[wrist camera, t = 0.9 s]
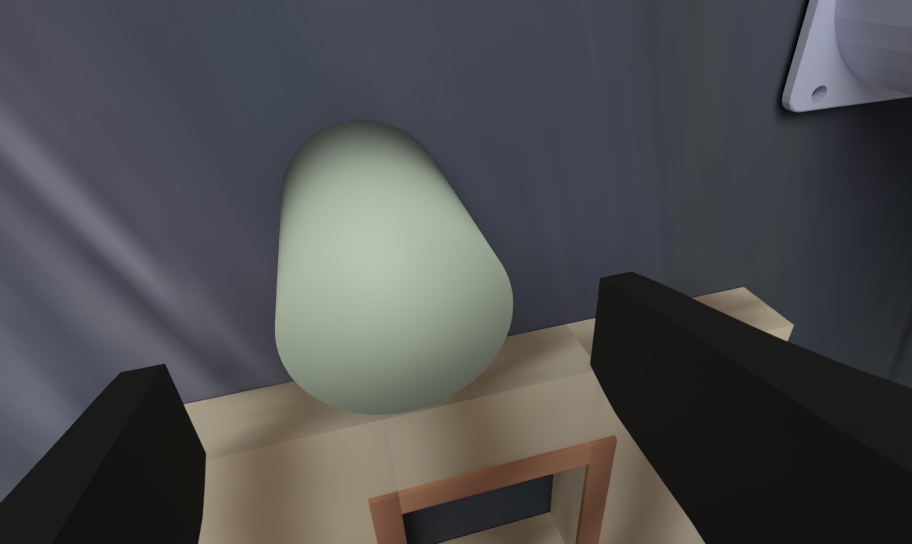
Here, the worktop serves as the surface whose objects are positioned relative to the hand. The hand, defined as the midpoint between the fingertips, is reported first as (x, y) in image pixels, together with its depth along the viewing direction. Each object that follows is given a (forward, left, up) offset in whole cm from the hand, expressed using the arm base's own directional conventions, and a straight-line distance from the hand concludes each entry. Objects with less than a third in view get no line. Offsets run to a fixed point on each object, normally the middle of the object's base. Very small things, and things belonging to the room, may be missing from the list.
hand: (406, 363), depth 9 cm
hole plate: (-3, +14, -7) cm, 16 cm away
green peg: (0, 0, -7) cm, 7 cm away
